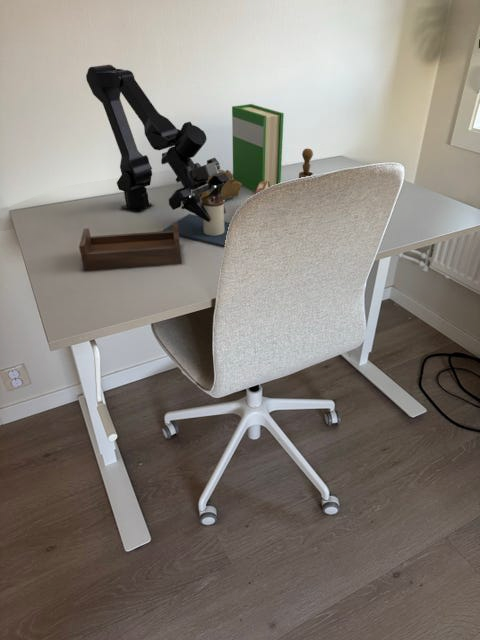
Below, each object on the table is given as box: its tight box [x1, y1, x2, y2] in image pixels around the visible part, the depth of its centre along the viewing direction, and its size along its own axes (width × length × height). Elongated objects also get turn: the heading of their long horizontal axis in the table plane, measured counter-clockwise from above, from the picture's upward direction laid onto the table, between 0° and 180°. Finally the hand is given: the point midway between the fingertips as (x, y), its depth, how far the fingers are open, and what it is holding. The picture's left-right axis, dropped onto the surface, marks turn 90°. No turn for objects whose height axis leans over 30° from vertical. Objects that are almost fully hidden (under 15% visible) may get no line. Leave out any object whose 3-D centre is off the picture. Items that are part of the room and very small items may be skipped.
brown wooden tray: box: [78, 221, 182, 272], centre depth 115 cm, size 10×23×6 cm, turn 99°
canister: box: [200, 195, 226, 236], centre depth 125 cm, size 6×6×10 cm
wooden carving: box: [199, 169, 243, 201], centre depth 145 cm, size 16×5×10 cm, turn 120°
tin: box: [254, 181, 270, 195], centre depth 137 cm, size 15×3×8 cm, turn 168°
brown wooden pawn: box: [298, 148, 314, 179], centre depth 136 cm, size 7×6×18 cm
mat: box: [162, 213, 231, 248], centre depth 129 cm, size 20×13×1 cm, turn 61°
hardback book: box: [231, 103, 285, 192], centre depth 153 cm, size 18×7×24 cm, turn 33°
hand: (217, 217), depth 125 cm, fingers closed on canister, 6 cm apart
